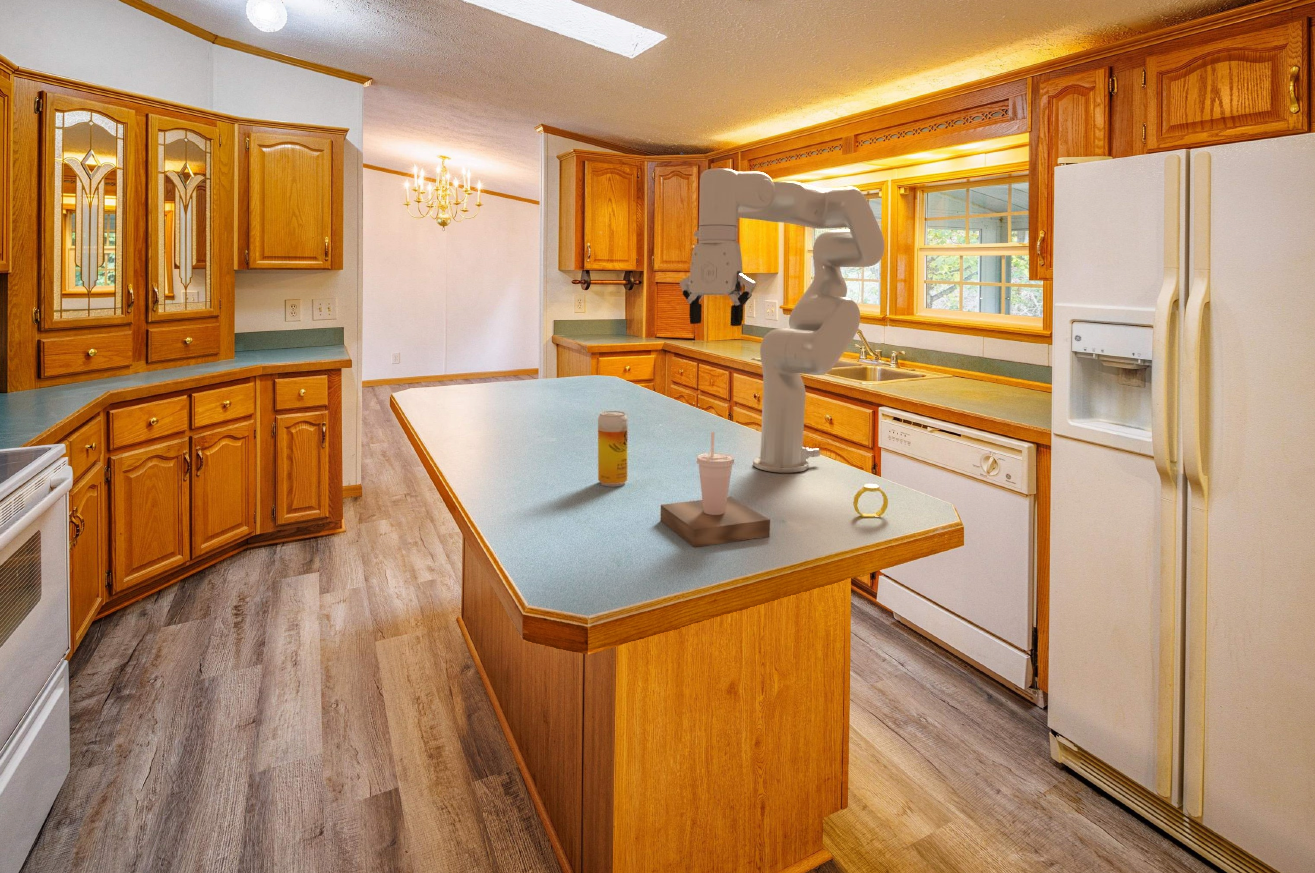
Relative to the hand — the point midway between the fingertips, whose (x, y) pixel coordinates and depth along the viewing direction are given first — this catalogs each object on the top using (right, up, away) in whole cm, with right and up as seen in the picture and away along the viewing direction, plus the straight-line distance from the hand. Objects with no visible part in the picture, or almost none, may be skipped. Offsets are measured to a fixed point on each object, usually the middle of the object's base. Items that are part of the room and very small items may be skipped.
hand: (715, 324), depth 146 cm
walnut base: (-2, -38, -20) cm, 43 cm away
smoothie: (-2, -36, -21) cm, 41 cm away
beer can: (-21, -32, +7) cm, 39 cm away
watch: (+27, -37, -12) cm, 48 cm away
